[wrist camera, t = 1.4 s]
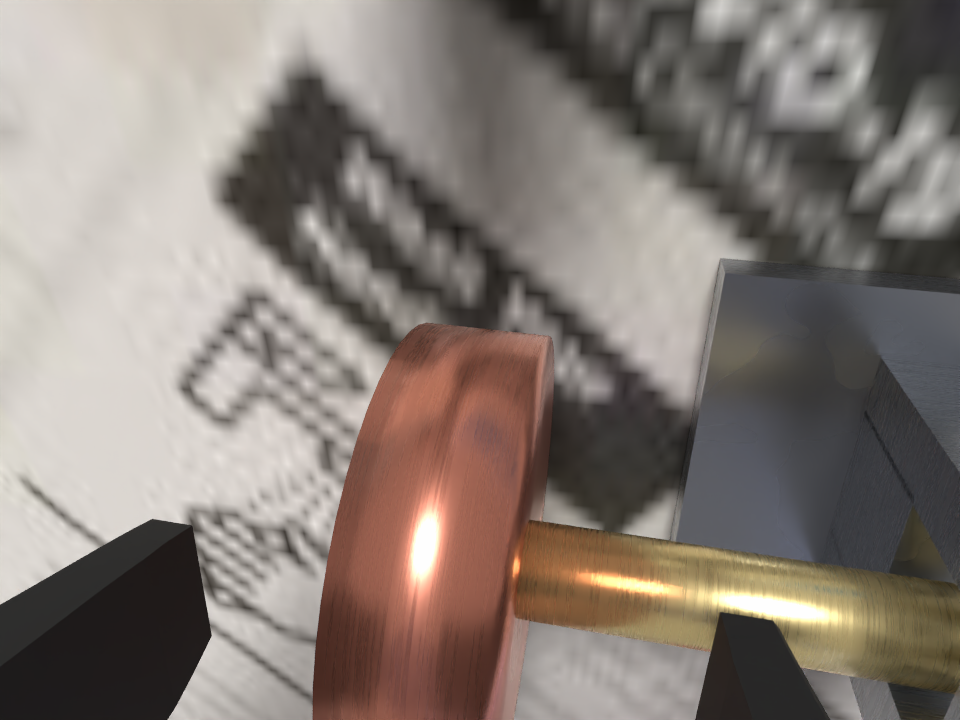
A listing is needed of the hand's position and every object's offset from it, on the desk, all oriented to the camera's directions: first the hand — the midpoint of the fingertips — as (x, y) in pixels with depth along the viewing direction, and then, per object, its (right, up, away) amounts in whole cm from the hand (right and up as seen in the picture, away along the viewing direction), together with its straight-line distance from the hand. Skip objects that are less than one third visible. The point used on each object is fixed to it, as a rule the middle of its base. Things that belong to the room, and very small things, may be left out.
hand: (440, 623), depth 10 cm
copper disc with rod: (+6, +1, +3) cm, 7 cm away
